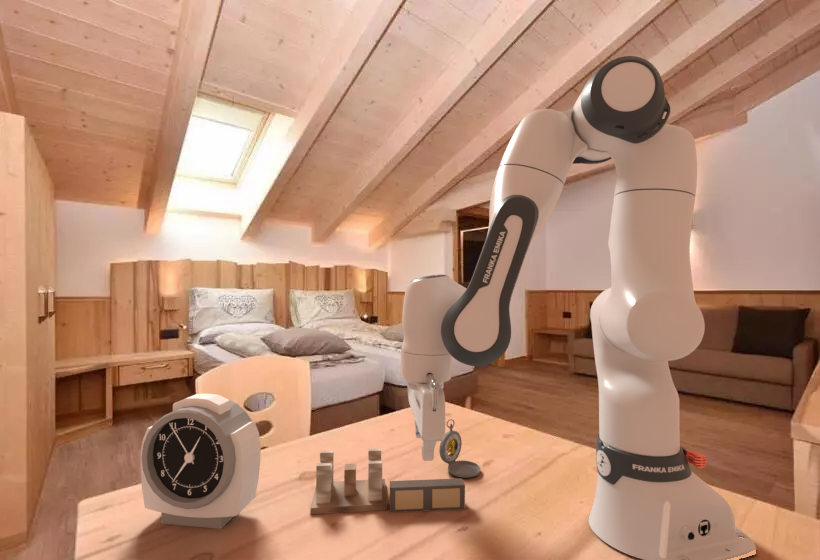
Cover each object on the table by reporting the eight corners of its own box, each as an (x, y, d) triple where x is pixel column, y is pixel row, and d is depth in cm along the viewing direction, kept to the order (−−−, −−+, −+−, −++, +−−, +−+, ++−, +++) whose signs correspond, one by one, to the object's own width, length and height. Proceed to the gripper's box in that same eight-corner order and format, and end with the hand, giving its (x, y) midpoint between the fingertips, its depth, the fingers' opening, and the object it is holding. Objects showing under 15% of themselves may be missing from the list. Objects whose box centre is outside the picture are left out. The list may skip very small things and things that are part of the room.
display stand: (384, 484, 78) (384, 445, 78) (387, 509, 69) (387, 466, 69) (317, 487, 77) (317, 448, 77) (310, 514, 68) (310, 469, 68)
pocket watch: (479, 481, 80) (479, 430, 80) (437, 477, 81) (437, 427, 81) (480, 463, 88) (480, 417, 88) (442, 460, 89) (442, 414, 89)
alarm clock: (132, 527, 64) (134, 400, 65) (171, 499, 73) (172, 387, 73) (237, 537, 62) (238, 405, 62) (264, 506, 70) (265, 391, 70)
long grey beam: (462, 502, 72) (462, 478, 72) (465, 510, 69) (464, 485, 70) (389, 506, 71) (389, 481, 71) (390, 514, 68) (390, 488, 69)
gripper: (456, 382, 60) (454, 475, 60) (434, 356, 80) (432, 426, 80) (414, 382, 59) (412, 476, 59) (402, 356, 80) (400, 426, 80)
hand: (423, 446), depth 70 cm, fingers open, 8 cm apart
